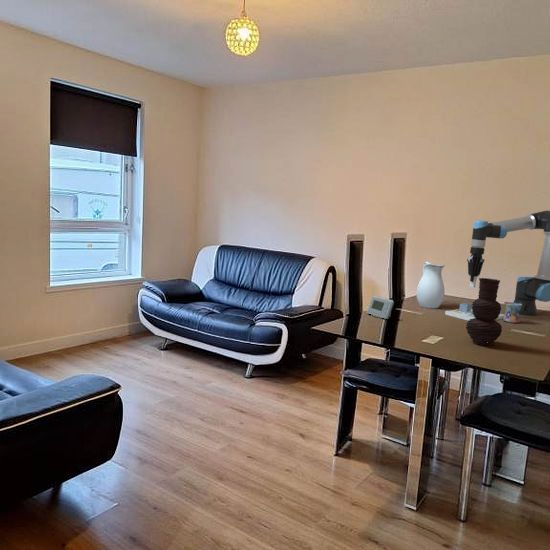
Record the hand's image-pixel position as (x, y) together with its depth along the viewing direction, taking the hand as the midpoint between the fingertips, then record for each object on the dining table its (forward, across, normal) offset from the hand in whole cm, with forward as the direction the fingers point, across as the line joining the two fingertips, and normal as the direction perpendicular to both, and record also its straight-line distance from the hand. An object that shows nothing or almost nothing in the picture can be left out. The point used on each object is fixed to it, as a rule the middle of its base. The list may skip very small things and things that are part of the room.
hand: (472, 287), depth 288 cm
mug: (+17, -14, +19) cm, 29 cm away
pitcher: (+18, +2, -30) cm, 35 cm away
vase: (+18, +48, +45) cm, 69 cm away
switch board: (+17, -3, +3) cm, 18 cm away
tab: (+15, +1, -2) cm, 15 cm away
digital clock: (+19, +58, -13) cm, 62 cm away
